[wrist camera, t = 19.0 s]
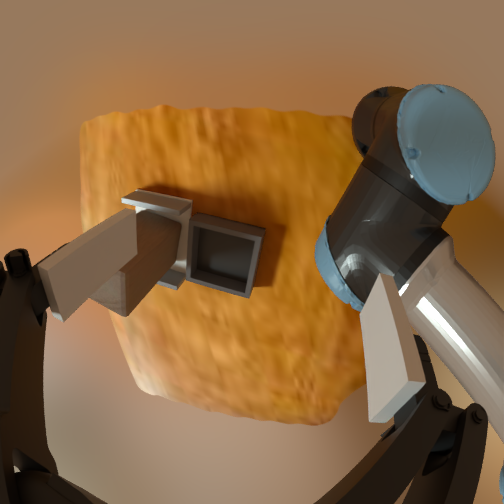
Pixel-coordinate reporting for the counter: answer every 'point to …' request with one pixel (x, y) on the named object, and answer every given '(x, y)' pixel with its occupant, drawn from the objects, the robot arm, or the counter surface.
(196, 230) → the box
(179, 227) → the wooden block
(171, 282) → the walled bay
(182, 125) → the counter surface
